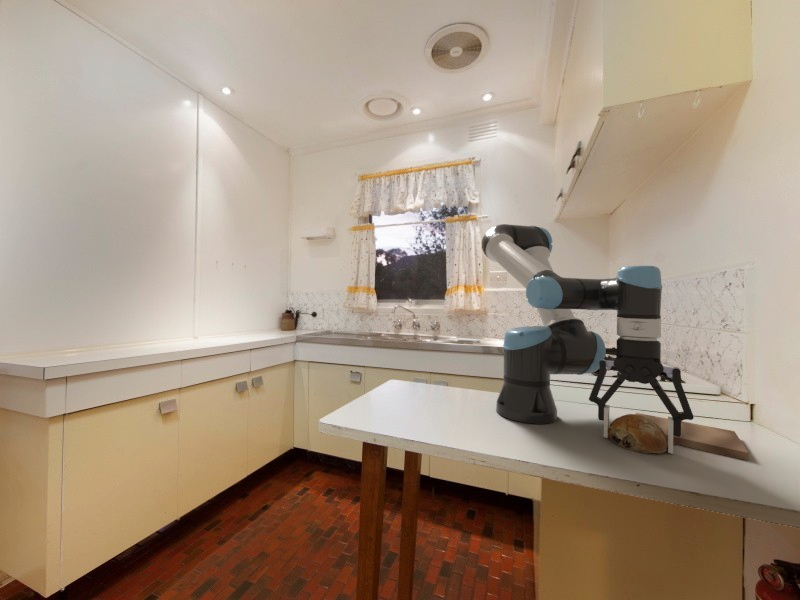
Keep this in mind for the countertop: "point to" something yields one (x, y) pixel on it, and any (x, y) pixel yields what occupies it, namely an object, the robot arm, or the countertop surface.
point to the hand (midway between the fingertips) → (636, 442)
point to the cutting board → (705, 438)
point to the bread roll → (638, 434)
